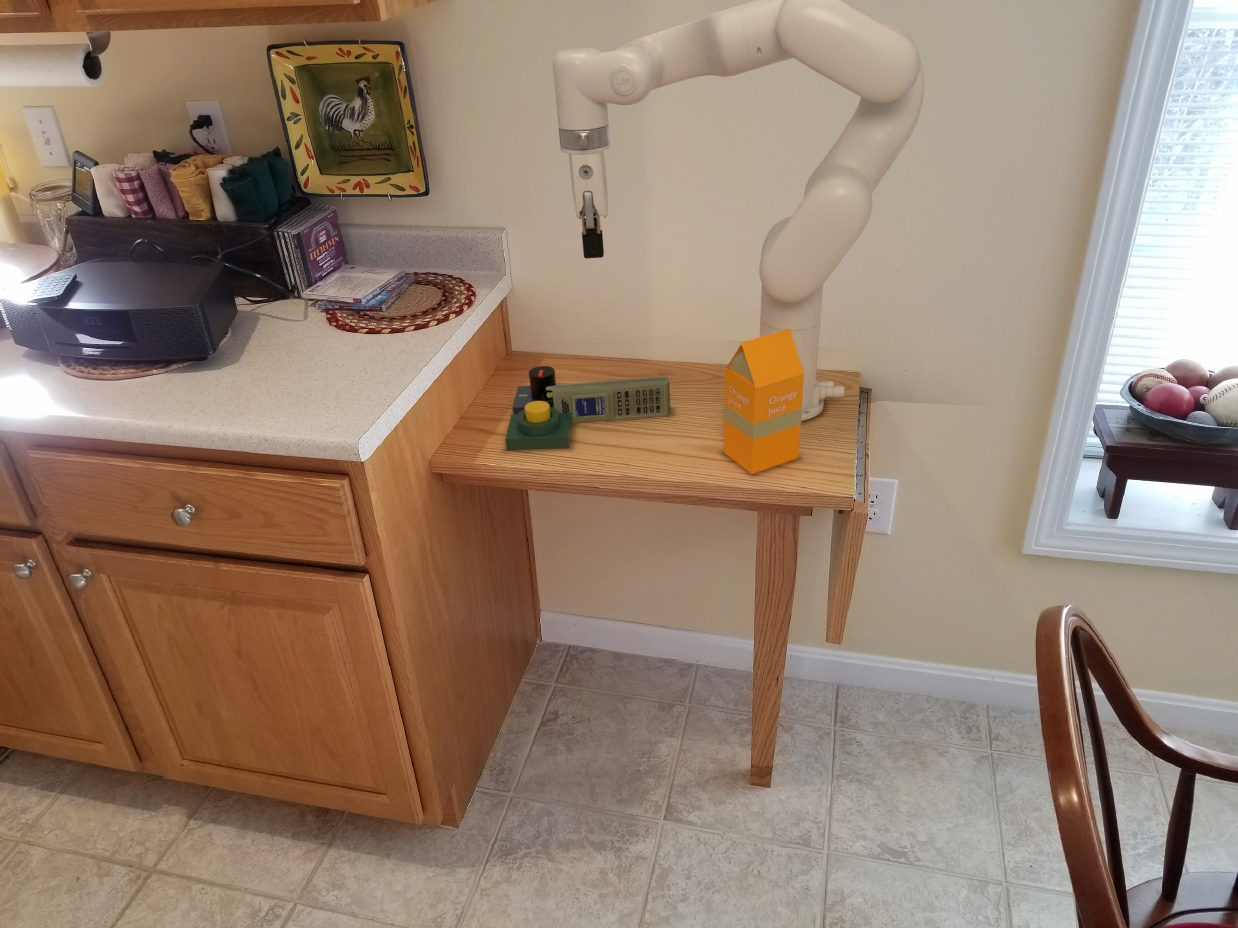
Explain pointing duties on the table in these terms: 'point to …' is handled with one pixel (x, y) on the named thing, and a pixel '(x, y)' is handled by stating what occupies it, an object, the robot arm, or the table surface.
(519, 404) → the nozzle panel
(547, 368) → the knob
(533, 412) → the yellow push button
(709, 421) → the table surface
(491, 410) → the table surface
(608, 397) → the handheld radio
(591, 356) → the table surface
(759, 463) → the orange juice
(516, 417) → the green button base
